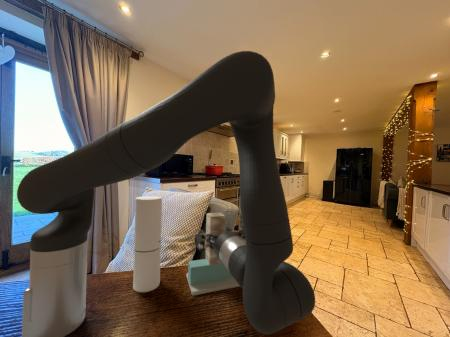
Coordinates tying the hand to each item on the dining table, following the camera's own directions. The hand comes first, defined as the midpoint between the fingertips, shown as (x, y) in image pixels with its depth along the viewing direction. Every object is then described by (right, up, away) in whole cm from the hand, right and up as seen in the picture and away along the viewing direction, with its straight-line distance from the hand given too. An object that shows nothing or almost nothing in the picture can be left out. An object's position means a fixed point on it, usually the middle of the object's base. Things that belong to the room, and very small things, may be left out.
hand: (214, 231), depth 60 cm
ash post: (0, -9, -1) cm, 9 cm away
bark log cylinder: (+11, -15, +4) cm, 19 cm away
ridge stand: (0, -15, -1) cm, 15 cm away
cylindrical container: (-19, -14, -4) cm, 24 cm away
